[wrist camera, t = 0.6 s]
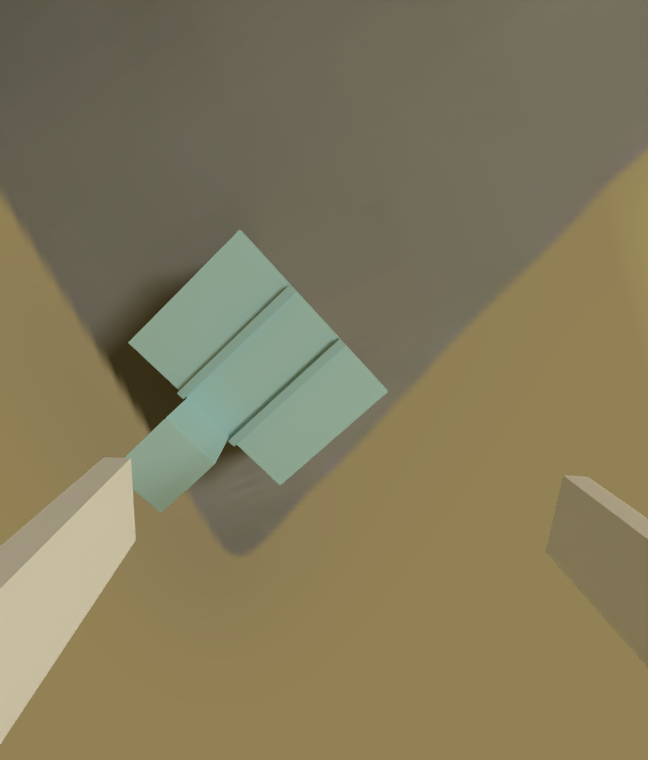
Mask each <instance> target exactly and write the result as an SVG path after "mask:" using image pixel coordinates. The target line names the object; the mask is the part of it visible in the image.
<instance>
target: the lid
mask: <svg viewBox="0 0 648 760" xmlns="http://www.w3.org/2000/svg"><path fill="white" fill-rule="evenodd" d="M128 343H129V344H130V345H131V346H132V347H133V348H134V349H135V350H136V351H138V352H139V353H140V354H141V355H142V356H143V357H144V358H145V359H146V360H147V361H148V362H149V363H150V364H151V365H152V366H154V367H155V368H156V369H157V370H158V371H159V372H160V373H161V374H162V375H163V376H164V377H165V378H166V379H167V380H168V381H170V382H171V383H172V384H173V385H174V386H175V387H176V388H177V389H178V390H179V392H178V393H177V394H178V395H179V396H180V397H181V398H182V399H184V398H185V397H187V399H185V400H184V401H183V402H182V403H181V404H180V405H179V406H178V407H177V408H176V409H175V410H174V411H173V412H172V413H170V414H169V415H168V416H167V417H166V418H165V419H164V420H163V421H162V422H161V423H160V424H159V425H158V426H157V427H156V428H155V429H154V430H153V431H151V432H150V433H149V434H148V435H147V436H146V437H145V438H144V439H143V440H142V441H141V442H140V443H139V444H138V445H137V446H136V447H135V448H134V449H133V450H132V451H131V452H129V453H128V454H127V455H126V456H125V457H124V458H131V467H132V485H133V490H134V491H136V492H137V493H138V494H139V495H140V496H142V497H143V498H144V499H145V500H146V501H147V502H149V503H150V504H151V505H152V506H153V507H155V508H156V509H157V510H158V511H159V512H161V513H162V512H163V511H164V510H165V509H166V508H167V507H168V506H169V505H171V504H172V503H173V502H174V501H175V500H176V499H177V498H178V497H179V496H180V495H182V494H183V493H184V492H185V491H186V490H187V489H188V488H189V487H190V486H191V485H193V484H194V483H195V482H196V481H197V480H198V479H199V478H200V477H201V476H202V475H204V474H205V473H206V472H207V471H208V470H209V469H210V468H211V467H212V466H213V465H215V463H216V461H217V459H218V457H219V456H220V454H221V452H222V450H223V448H224V446H225V444H226V442H227V440H228V438H229V440H228V442H229V443H230V444H231V445H233V446H234V447H235V446H236V445H238V446H239V447H240V448H241V449H242V450H243V451H244V452H245V453H246V454H247V455H248V456H249V457H250V458H252V459H253V460H254V461H255V462H256V463H257V464H258V465H259V466H260V467H261V468H262V469H263V470H264V471H265V472H266V473H268V474H269V475H270V476H271V477H272V478H273V479H274V480H275V481H276V482H277V483H278V484H279V485H281V484H282V483H284V482H285V481H286V480H287V479H288V478H289V477H290V476H292V475H293V474H294V473H295V472H296V471H297V470H299V469H300V468H301V467H302V466H303V465H304V464H305V463H307V462H308V461H309V460H310V459H311V458H312V457H313V456H315V455H316V454H317V453H318V452H319V451H320V450H321V449H323V448H324V447H325V446H326V445H327V444H328V443H330V442H331V441H332V440H333V439H334V438H335V437H336V436H338V435H339V434H340V433H341V432H342V431H343V430H344V429H346V428H347V427H348V426H349V425H350V424H351V423H352V422H354V421H355V420H356V419H357V418H358V417H359V416H360V415H362V414H363V413H364V412H365V411H366V410H367V409H369V408H370V407H371V406H372V405H373V404H374V403H375V402H377V401H378V400H379V399H380V398H381V397H382V396H383V395H385V394H386V393H387V392H388V391H387V389H386V388H385V387H384V386H383V385H382V384H381V383H380V381H379V380H378V379H377V378H376V377H375V376H374V375H373V374H372V373H371V372H370V370H369V369H368V368H367V367H366V366H365V365H364V364H363V363H362V362H361V361H360V360H359V358H358V357H357V356H356V355H355V354H354V353H353V352H352V351H351V350H350V349H349V348H348V346H347V345H346V344H345V343H344V342H343V341H342V340H341V339H340V338H339V337H338V335H337V334H336V333H335V332H334V331H333V330H332V329H331V328H330V327H329V326H328V325H327V323H326V322H325V321H324V320H323V319H322V318H321V317H320V316H319V315H318V314H317V313H316V311H315V310H314V309H313V308H312V307H311V306H310V305H309V304H308V303H307V302H306V300H305V299H304V298H303V297H302V296H301V295H300V294H299V293H298V292H297V291H296V290H295V288H294V287H293V286H292V285H291V284H290V283H289V282H288V281H287V280H286V279H285V278H284V276H283V275H282V274H281V273H280V272H279V271H278V270H277V269H276V268H275V267H274V265H273V264H272V263H271V262H270V261H269V260H268V259H267V258H266V257H265V256H264V255H263V253H262V252H261V251H260V250H259V249H258V248H257V247H256V246H255V245H254V244H253V243H252V241H251V240H250V239H249V238H248V237H247V236H246V235H245V234H244V233H243V232H242V231H241V230H239V231H238V232H237V233H236V234H235V235H234V236H233V237H232V238H231V239H230V240H229V241H228V242H227V243H226V244H225V245H224V246H223V247H222V248H221V249H220V250H219V251H218V252H217V253H216V254H215V255H214V256H213V257H212V258H211V259H210V260H209V261H208V262H207V263H206V264H205V265H204V266H203V267H202V268H201V269H200V270H199V271H198V272H197V273H196V274H195V275H194V277H193V278H192V279H191V280H190V281H189V282H188V283H187V284H186V285H185V286H184V287H183V288H182V289H181V290H180V291H179V292H178V293H177V294H176V295H175V296H174V297H173V298H172V299H171V300H170V301H169V302H168V303H167V304H166V305H165V306H164V307H163V308H162V309H161V310H160V311H159V312H158V313H157V314H156V315H155V316H154V317H153V318H152V319H151V320H150V321H149V322H148V323H147V324H146V325H145V326H144V327H143V328H142V329H141V330H140V331H139V332H138V333H137V334H136V335H135V336H134V337H133V338H132V339H131V340H130V341H129V342H128Z"/></svg>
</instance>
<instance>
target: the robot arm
mask: <svg viewBox="0 0 648 760" xmlns="http://www.w3.org/2000/svg"><path fill="white" fill-rule="evenodd" d="M135 540H136V537H135V519H134V502H133V485H132V467H131V458H121V457H103V458H102V459H101V460H100V461H99V462H97V463H96V464H95V465H94V466H93V467H92V468H90V469H89V470H88V471H87V472H86V473H85V474H83V475H82V476H81V477H80V478H79V479H78V480H77V481H75V482H74V483H73V484H72V485H71V486H70V487H69V488H67V489H66V490H65V491H64V492H63V493H61V494H60V495H59V496H58V497H57V498H56V499H55V500H53V501H52V502H51V503H50V504H49V505H48V506H46V507H45V508H44V509H43V510H42V511H41V512H40V513H38V514H37V515H36V516H35V517H34V518H32V519H31V520H30V521H29V522H28V523H27V524H25V525H24V526H23V527H22V528H21V529H20V530H18V531H17V532H16V533H15V534H14V535H13V536H12V537H10V538H9V539H8V540H7V541H6V542H5V543H3V544H2V545H1V546H0V744H1V742H2V741H3V739H4V738H5V736H6V735H7V733H8V732H9V730H10V729H11V727H12V726H13V724H14V723H15V721H16V719H17V718H18V717H19V715H20V714H21V712H22V711H23V709H24V708H25V706H26V705H27V703H28V702H29V700H30V699H31V697H32V696H33V694H34V693H35V691H36V690H37V688H38V687H39V685H40V684H41V682H42V681H43V679H44V678H45V676H46V675H47V673H48V672H49V670H50V668H51V667H52V665H53V664H54V662H55V661H56V659H57V658H58V656H59V655H60V653H61V652H62V650H63V649H64V647H65V646H66V644H67V643H68V641H69V640H70V638H71V637H72V635H73V634H74V632H75V631H76V629H77V628H78V626H79V625H80V623H81V622H82V620H83V618H84V617H85V616H86V614H87V613H88V611H89V610H90V608H91V607H92V605H93V604H94V602H95V601H96V599H97V597H98V596H99V595H100V593H101V592H102V590H103V589H104V587H105V586H106V584H107V583H108V581H109V580H110V578H111V576H112V575H113V574H114V572H115V570H116V569H117V567H118V566H119V564H120V563H121V561H122V560H123V558H124V556H125V555H126V554H127V552H128V551H129V549H130V548H131V546H132V545H133V543H134V542H135ZM546 553H547V554H548V555H549V556H550V558H551V559H552V560H553V561H554V562H555V563H556V564H557V566H558V567H559V568H560V569H561V570H562V571H563V572H564V573H565V575H566V576H567V577H568V578H569V579H570V580H571V581H572V582H573V584H574V585H575V586H576V587H577V588H578V589H579V590H580V591H581V593H582V594H583V595H584V596H585V597H586V598H587V599H588V601H589V602H590V603H591V604H592V605H593V606H594V607H595V609H596V610H597V611H598V612H599V613H600V614H601V615H602V617H603V618H604V619H605V620H606V621H607V622H608V623H609V624H610V626H611V627H612V628H613V629H614V630H615V631H616V632H617V633H618V635H619V636H620V637H621V638H622V639H623V640H624V641H625V643H627V645H628V646H629V647H630V648H631V649H632V651H633V652H634V653H635V654H636V655H637V656H638V657H639V658H640V659H641V661H642V662H643V663H644V664H645V665H646V666H647V668H648V519H647V518H646V517H645V516H643V515H641V514H640V513H639V512H637V511H636V510H634V509H633V508H632V507H630V506H629V505H627V504H626V503H624V502H623V501H622V500H620V499H619V498H617V497H616V496H614V495H613V494H611V493H610V492H609V491H607V490H606V489H604V488H603V487H601V486H600V485H599V484H597V483H596V482H594V481H593V480H591V479H590V478H588V477H586V476H563V479H562V484H561V488H560V492H559V496H558V501H557V505H556V509H555V514H554V518H553V522H552V527H551V531H550V535H549V539H548V544H547V548H546Z"/></svg>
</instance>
